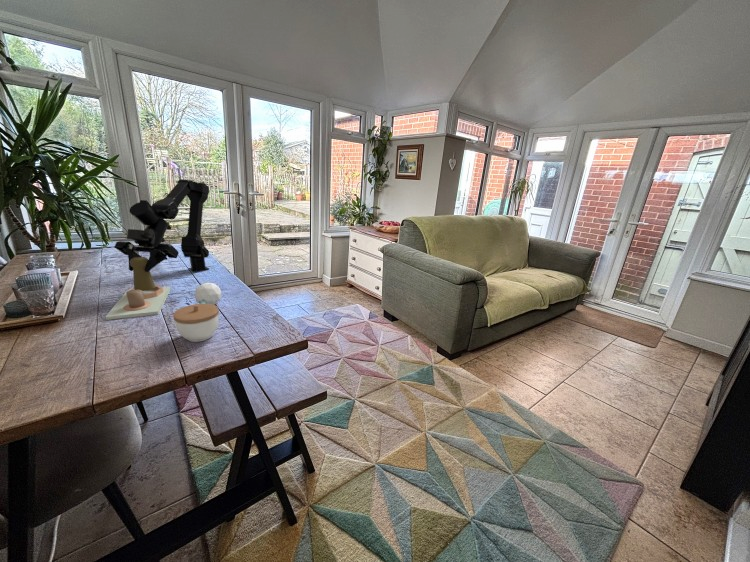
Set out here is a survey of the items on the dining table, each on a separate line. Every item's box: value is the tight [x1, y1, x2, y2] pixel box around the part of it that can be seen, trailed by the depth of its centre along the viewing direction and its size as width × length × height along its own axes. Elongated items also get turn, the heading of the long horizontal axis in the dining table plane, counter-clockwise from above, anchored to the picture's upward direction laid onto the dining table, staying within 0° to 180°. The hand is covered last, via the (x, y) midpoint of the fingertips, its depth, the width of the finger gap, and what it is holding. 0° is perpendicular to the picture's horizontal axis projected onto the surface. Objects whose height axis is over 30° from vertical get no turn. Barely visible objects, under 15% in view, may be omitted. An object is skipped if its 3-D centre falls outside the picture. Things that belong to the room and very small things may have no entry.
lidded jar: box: [172, 303, 220, 343], centre depth 82 cm, size 11×11×9 cm
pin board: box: [105, 285, 172, 321], centre depth 101 cm, size 23×13×6 cm, turn 24°
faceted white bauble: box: [194, 281, 222, 305], centre depth 101 cm, size 8×8×12 cm
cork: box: [130, 256, 156, 291], centre depth 104 cm, size 6×6×11 cm
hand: (138, 271), depth 102 cm, fingers closed on cork, 5 cm apart
